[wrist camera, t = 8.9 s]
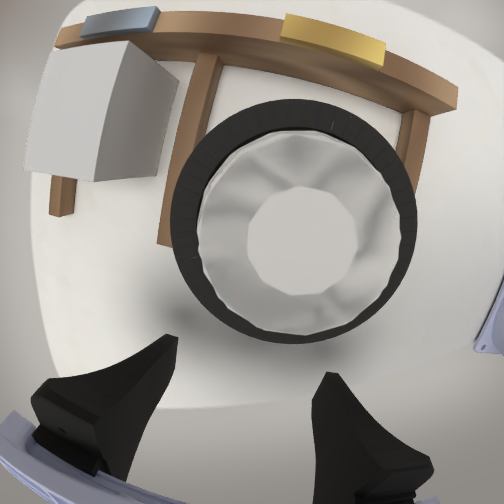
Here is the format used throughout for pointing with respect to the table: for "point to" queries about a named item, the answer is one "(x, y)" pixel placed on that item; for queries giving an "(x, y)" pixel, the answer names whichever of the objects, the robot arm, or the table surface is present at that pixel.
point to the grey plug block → (100, 113)
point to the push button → (293, 221)
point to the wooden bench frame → (265, 59)
